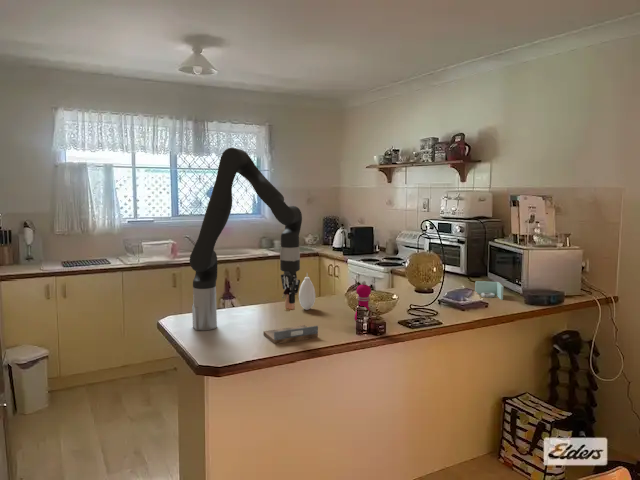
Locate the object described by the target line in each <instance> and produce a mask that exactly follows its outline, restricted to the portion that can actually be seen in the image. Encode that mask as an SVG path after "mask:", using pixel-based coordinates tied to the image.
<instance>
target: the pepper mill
mask: <svg viewBox="0 0 640 480" xmlns="http://www.w3.org/2000/svg"><path fill="white" fill-rule="evenodd" d="M355 292H356V294H357V300H358V306H359V305H360V306H364V307H366V308H367V309H368V310H369V311H370V307H369V301H370V299H371V298H370V295H371V293H372V289H371V286H369V284H367V281H365V280H362V281H361V284H359V285H358V286H357V287H356V291H355ZM370 312H371V311H370ZM356 320H357V310H356V311H355V314H354V321H355V322H356Z"/></svg>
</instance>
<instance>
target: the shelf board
mask: <svg viewBox="0 0 640 480" xmlns="http://www.w3.org/2000/svg"><path fill="white" fill-rule="evenodd" d="M305 327H308V326H306V325H305V324H304V325H299V326H291V327H284V328H277V329H276V328H275V329H271V330H270V329H268V330H263V333H262V334H263V336H264V337H265V338H266V339H268V340H269V341H271V343H272V344H273V345H279V344H283V343H290V342H297V341H303V340H309V339H315V338H318V337H319V333H318V334H312V335H305V336H299V337H292V338H286V339H279V340H274V332H277V331H284V330H291V329H298V328H305Z"/></svg>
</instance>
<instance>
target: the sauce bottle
mask: <svg viewBox="0 0 640 480" xmlns="http://www.w3.org/2000/svg"><path fill="white" fill-rule="evenodd" d="M308 274H309V273H308V272H306V276H305V277H304V279H303V281H302V282H301V284H300V286H299V289H298V302H299V305H300V307H302V308H303V309H304V310H305V311H308V310H310V309H311V308H312V307H313V306H314V305H315V302H316V291H315V290H316V289H315V286H314V284H313V282H312V280H311V277H309V275H308Z"/></svg>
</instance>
